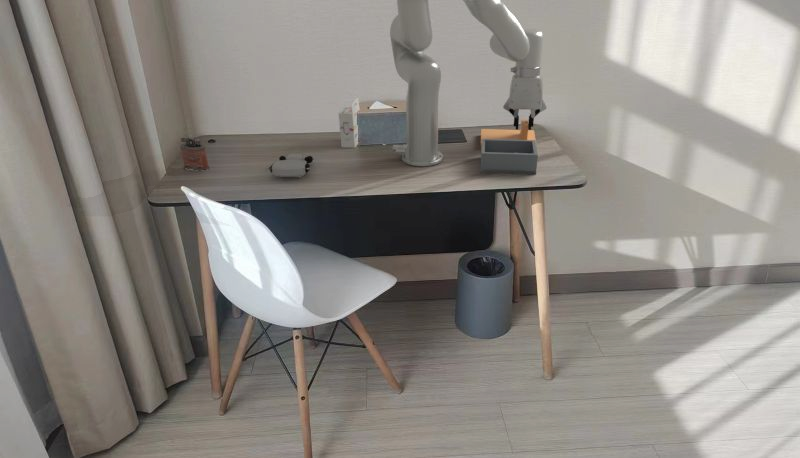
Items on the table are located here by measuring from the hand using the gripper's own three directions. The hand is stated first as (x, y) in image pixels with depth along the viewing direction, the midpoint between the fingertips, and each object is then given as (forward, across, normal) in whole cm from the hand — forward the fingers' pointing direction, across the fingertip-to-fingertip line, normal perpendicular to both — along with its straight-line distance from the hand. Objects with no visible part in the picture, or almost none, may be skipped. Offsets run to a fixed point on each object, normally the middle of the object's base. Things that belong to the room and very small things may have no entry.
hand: (523, 128), depth 195 cm
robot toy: (+6, -69, -29) cm, 75 cm away
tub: (+5, -5, -19) cm, 20 cm away
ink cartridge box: (+6, -56, -4) cm, 56 cm away
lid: (+5, -5, 0) cm, 7 cm away
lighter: (+5, -99, -29) cm, 103 cm away
